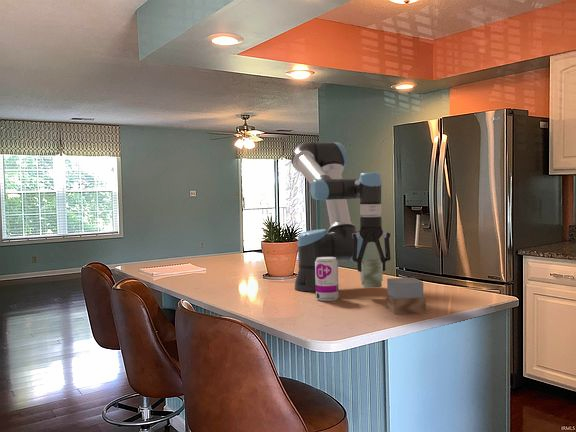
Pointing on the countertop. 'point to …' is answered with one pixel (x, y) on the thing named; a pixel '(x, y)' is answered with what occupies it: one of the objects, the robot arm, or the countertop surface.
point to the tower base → (406, 305)
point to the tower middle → (404, 288)
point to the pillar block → (372, 273)
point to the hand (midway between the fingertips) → (371, 280)
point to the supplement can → (326, 278)
